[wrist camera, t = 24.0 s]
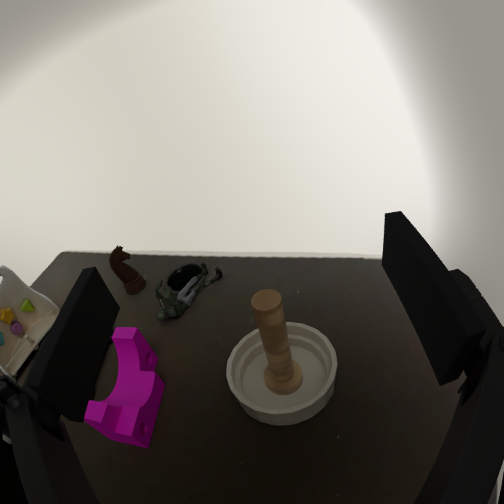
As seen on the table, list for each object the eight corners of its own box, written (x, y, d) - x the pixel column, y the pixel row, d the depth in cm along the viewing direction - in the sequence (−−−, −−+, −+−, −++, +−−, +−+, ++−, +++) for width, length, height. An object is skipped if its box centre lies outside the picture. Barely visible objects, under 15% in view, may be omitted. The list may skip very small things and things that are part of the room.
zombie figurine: (214, 248, 52) (157, 307, 43) (224, 277, 56) (172, 334, 47) (192, 243, 55) (136, 296, 46) (202, 271, 59) (152, 323, 50)
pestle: (294, 359, 38) (281, 275, 30) (308, 387, 34) (300, 307, 26) (260, 371, 38) (234, 291, 29) (272, 400, 34) (248, 326, 25)
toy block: (148, 448, 30) (118, 426, 26) (111, 439, 31) (79, 416, 27) (172, 358, 42) (152, 327, 38) (138, 357, 43) (116, 327, 39)
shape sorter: (47, 309, 58) (8, 249, 48) (68, 319, 54) (24, 253, 44) (0, 367, 44) (-49, 309, 34) (16, 385, 40) (-42, 323, 29)
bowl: (311, 329, 42) (309, 309, 40) (353, 400, 32) (356, 384, 29) (225, 360, 41) (216, 342, 38) (251, 441, 30) (242, 429, 27)
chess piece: (149, 282, 59) (130, 242, 54) (134, 298, 56) (112, 258, 50) (136, 277, 61) (117, 240, 56) (120, 293, 58) (99, 255, 52)
